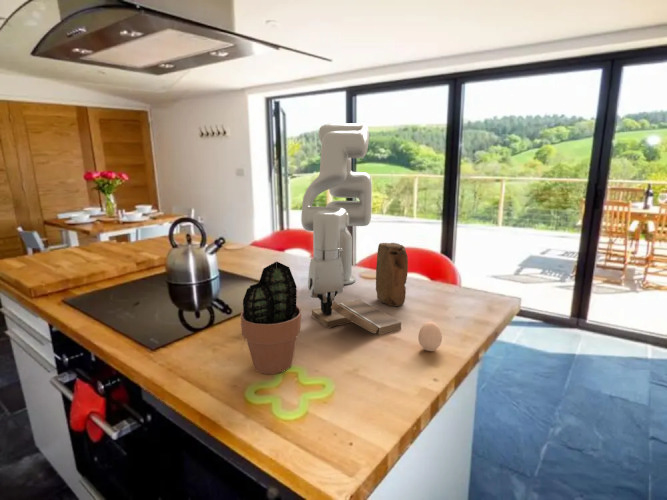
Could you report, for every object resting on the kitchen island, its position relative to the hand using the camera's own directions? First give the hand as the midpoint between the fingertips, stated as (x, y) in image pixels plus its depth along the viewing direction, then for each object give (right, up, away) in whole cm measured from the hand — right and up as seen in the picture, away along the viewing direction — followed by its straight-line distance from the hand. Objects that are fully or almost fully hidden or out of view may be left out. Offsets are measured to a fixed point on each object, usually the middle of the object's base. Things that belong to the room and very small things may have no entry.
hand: (326, 313), depth 116 cm
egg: (+26, -7, -18) cm, 32 cm away
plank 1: (+2, -2, +2) cm, 3 cm away
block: (+22, +1, +16) cm, 27 cm away
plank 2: (+7, -1, -8) cm, 11 cm away
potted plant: (-12, -8, -25) cm, 29 cm away
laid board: (+13, -2, +2) cm, 13 cm away
